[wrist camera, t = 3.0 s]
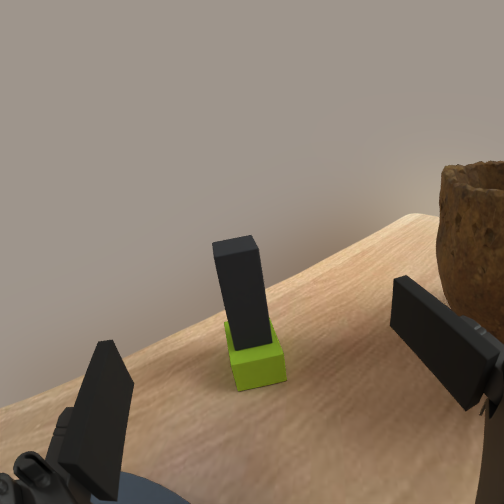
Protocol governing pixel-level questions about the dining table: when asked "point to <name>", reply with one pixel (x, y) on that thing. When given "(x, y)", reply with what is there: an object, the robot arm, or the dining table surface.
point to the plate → (141, 492)
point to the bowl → (473, 242)
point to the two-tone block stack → (247, 315)
